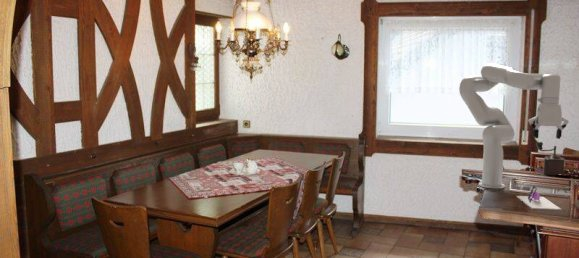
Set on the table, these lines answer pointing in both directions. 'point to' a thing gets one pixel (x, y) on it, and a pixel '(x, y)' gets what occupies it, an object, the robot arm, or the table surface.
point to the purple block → (533, 194)
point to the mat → (538, 203)
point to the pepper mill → (552, 162)
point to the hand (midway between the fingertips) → (547, 138)
